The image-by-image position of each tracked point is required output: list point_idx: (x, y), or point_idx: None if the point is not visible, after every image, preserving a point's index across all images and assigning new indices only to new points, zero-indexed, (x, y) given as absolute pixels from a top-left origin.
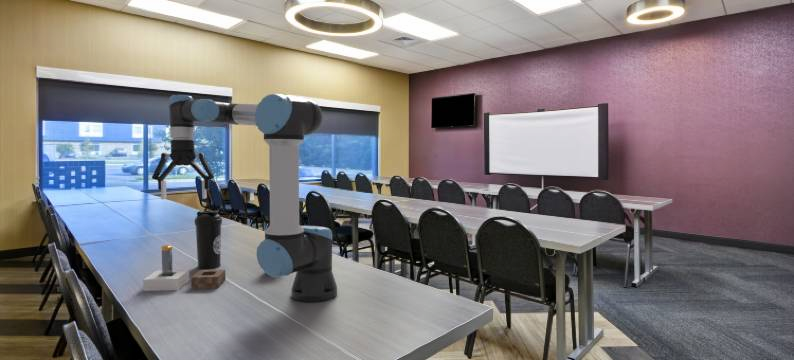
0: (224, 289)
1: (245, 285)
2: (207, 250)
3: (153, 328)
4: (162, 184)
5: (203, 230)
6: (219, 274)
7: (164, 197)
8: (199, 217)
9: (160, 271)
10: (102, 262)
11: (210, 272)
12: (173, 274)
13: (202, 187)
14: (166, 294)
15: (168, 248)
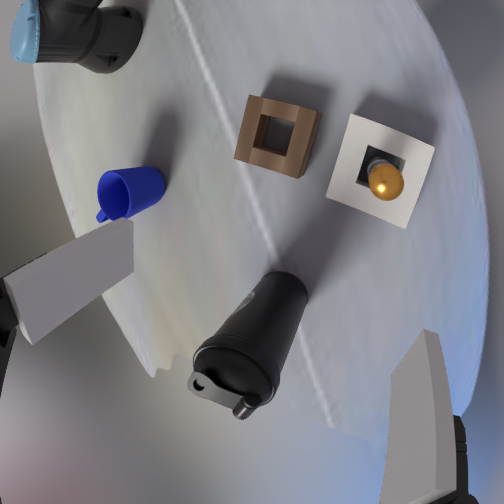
0: (246, 85)
1: (205, 102)
2: (270, 295)
3: None
4: (443, 450)
5: (258, 333)
6: (246, 115)
7: (415, 353)
8: (254, 376)
9: (397, 210)
10: (461, 402)
11: (270, 151)
12: (365, 185)
13: (60, 256)
14: (374, 94)
15: (380, 165)
